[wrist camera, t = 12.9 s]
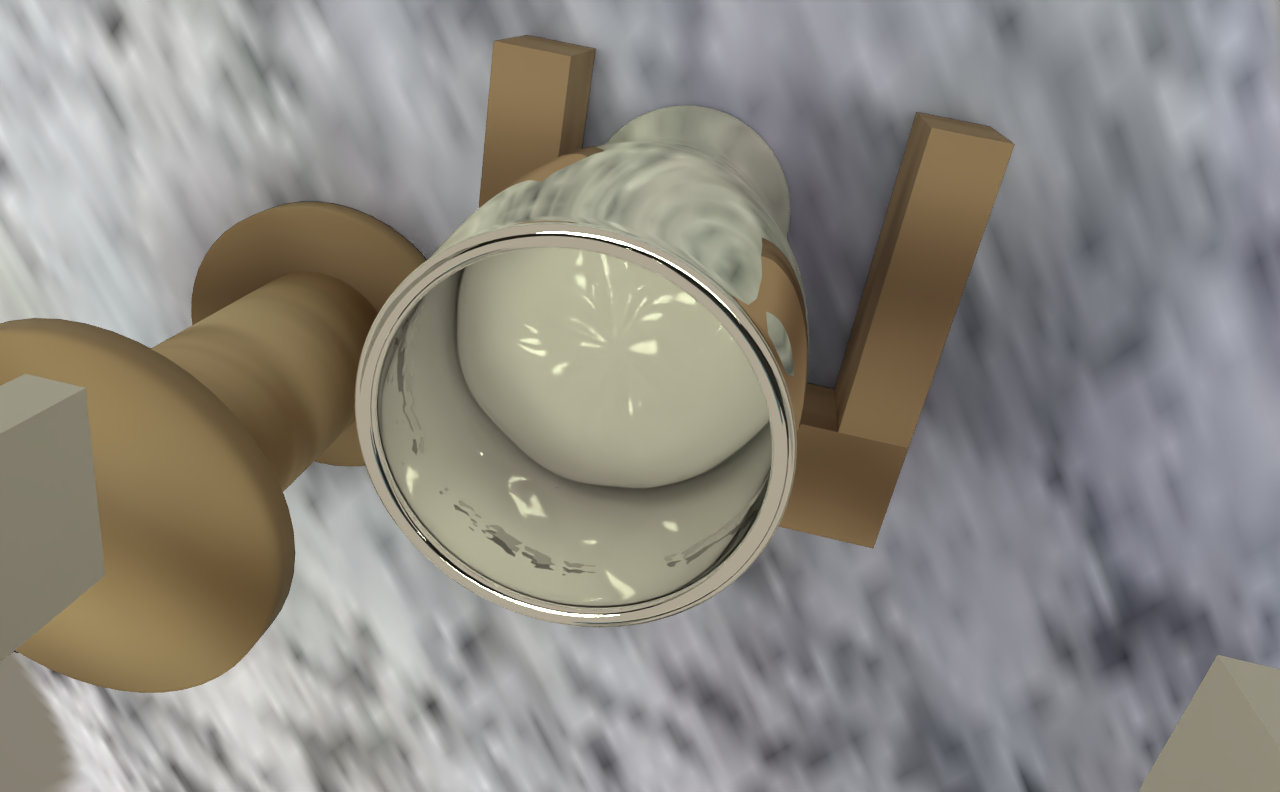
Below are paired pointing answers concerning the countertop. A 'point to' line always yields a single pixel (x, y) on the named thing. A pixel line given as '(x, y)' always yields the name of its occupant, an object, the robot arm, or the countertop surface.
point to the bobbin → (212, 441)
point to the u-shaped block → (890, 304)
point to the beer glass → (599, 378)
